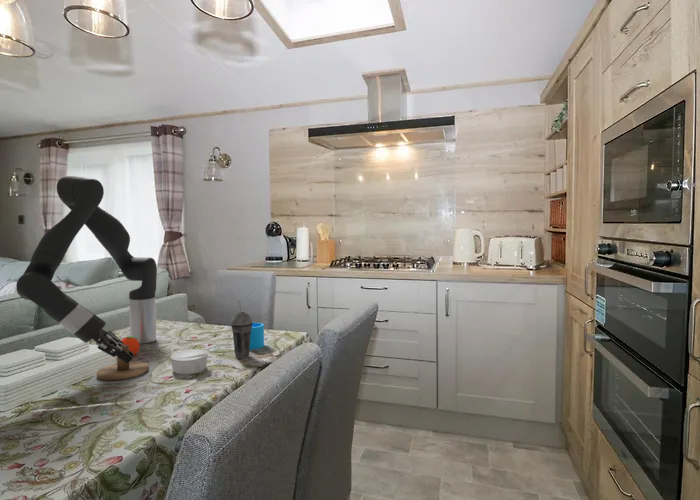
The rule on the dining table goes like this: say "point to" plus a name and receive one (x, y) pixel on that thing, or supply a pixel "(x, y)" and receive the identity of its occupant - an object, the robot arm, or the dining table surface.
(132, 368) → the walnut lid
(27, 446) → the dining table surface
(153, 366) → the slate mat
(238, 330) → the beverage cup
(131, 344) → the clementine
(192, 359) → the ramekin
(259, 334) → the mug
